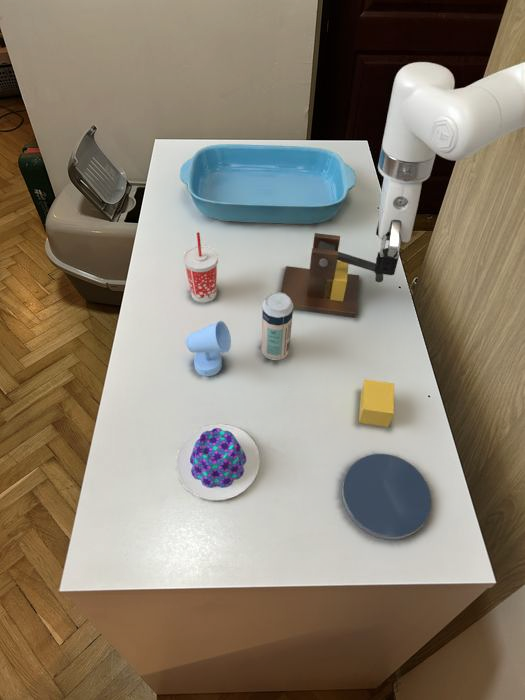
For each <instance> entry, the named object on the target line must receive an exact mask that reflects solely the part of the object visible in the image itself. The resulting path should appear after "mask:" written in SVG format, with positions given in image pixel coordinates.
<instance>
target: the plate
mask: <svg viewBox="0 0 525 700" xmlns="http://www.w3.org/2000/svg"><path fill="white" fill-rule="evenodd" d="M341 497H342V502H343V506H344V508H345V510H346V512H347V514H348V516H349V518H350V519H351V520H352V522H353V523H354V524H355V525H356V526H357V527H358V528H360V529H361V530H362V531H364V532H366V534H369V535H371V536H373V537H377V538H378V539H383V540H390V541H391V540H392V541H393V540H401V539H404V538H407V537H410V536H412V535H414V534H415V533H417V532H418V531H419V530H420V529H421V528H422V527H423V525H424V524H425V522H426V521H427V519H428V517H429V514H430V513H431V506H432V495H431V491H430V489H429V485H428V483H427V481H426V479H425V478H424V476H423V475H422V474H421V473H420V471H419V470H418V469H417V468H416V467H415V466H414V465H413V464H411V463H410V462H409V461H407V460H405V459H403V458H401V457H398V456H395V455H393V454H387V453H374V454H369V455H366V456H364V457H362V458H359V459H358V460H356V461H355V462H354V463H353V464H352V465H351V466H350V467H349V468H348V471H347V472H346V474H345V476H344V480H343V483H342V487H341Z"/></svg>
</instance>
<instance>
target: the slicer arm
mask: <svg viewBox="0 0 525 700" xmlns="http://www.w3.org/2000/svg"><path fill="white" fill-rule="evenodd" d="M317 249H324V250H332V251H335V245H333V244H330V243H327V242H324V241H320V242H319V244H318V247H317ZM376 260H377V257H376V258H375V261H376ZM337 261H342V262H345V263H348V264H349V265H352V266H355V267H357V268H362V269H364V270H369V271H371V272H374V269H375V264H376V262H373V261H370V260H367V259H363V258H361V257H356V256H354V255H350V254H347V253H345V252H341V251H338V259H337ZM374 276H375V278H374V279H375V282H376V283H380V284H381V283H383V281H384V274H376V273H375V275H374Z"/></svg>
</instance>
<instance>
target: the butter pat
mask: <svg viewBox="0 0 525 700" xmlns="http://www.w3.org/2000/svg"><path fill="white" fill-rule="evenodd" d="M359 399H360V400H359V413H358V415H359V417H358V424H364V425H371V426H376V427H377V426H378V427H383V428H389V427H390V424H391V422H392V419H393V417H394V414H395V383H393V382H387V381H380V380H379V381H378V380H372V379H367V378H366V379H364V381H363V384H362V387H361V390H360V397H359Z"/></svg>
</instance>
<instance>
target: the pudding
mask: <svg viewBox="0 0 525 700" xmlns="http://www.w3.org/2000/svg"><path fill="white" fill-rule="evenodd" d="M260 463H261V459H260V452H259V449H258V446H257V445H256V442H255V441H254V440H253V438H252V437H251V436H250V435H249V433H247V432H246V431H244V430H242V429H241V428H239V427H236V426H234V425H231V424H224V423H218V424H217V423H216V424H209V425H205V426H203V427H201V428H198V429H196V430H195V431H193V432H191V433H190V434H189V435H188V436H187V437H186V438H185V439H184V440H183V441H182V443H181V445H180V446H179V448H178V451H177V454H176V458H175V470H176V475H177V477H178V479H179V481H180V483H181V485H182V486H183V487H184V488H185V489H186V490H187V491H188V492H189V493H191V494H192V495H194V496H196V497H198V498H200V499H203V500H208V501H225V500H229V499H232V498H233V497H237V496H239V495H240V494H241V493H243V492H245V491H246V490H247V489H248V488H249V487H250V486H251V485H252V484H253V482H254V481H255V479H256V477H257V475H258V474H259V473H258V472H259V469H260Z"/></svg>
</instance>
